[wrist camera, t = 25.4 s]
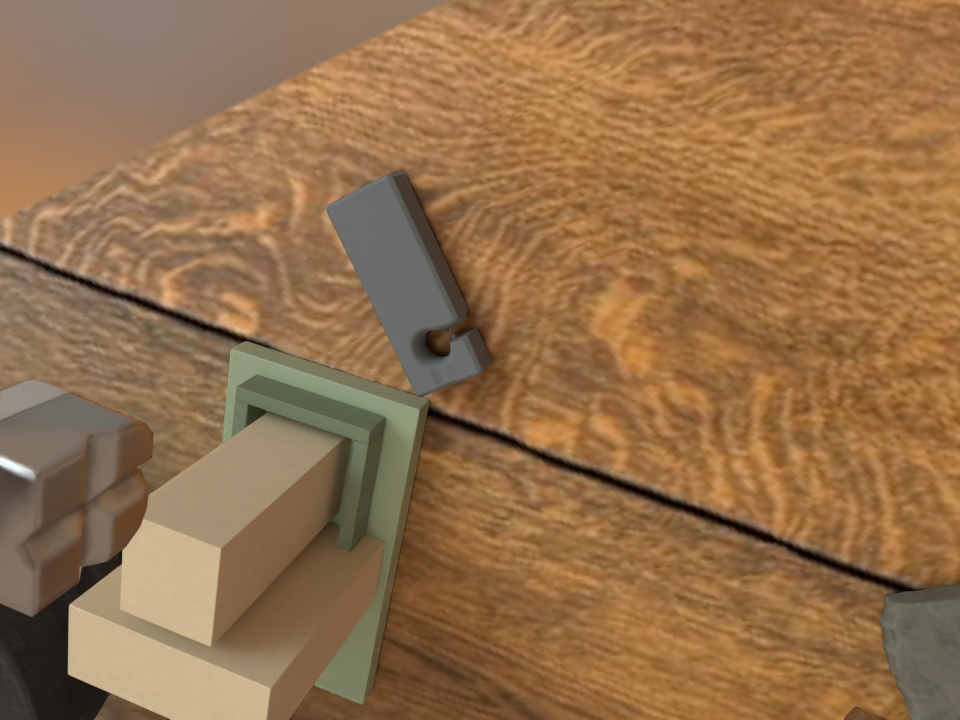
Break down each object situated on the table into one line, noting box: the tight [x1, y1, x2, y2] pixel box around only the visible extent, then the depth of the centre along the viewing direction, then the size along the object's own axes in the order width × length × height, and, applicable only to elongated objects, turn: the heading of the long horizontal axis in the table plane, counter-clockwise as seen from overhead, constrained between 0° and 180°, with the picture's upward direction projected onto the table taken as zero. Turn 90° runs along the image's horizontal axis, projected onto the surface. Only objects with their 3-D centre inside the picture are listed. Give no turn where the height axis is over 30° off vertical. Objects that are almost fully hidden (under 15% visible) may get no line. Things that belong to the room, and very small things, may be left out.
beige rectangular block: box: [120, 411, 351, 647], centre depth 39 cm, size 4×5×12 cm
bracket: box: [326, 171, 492, 397], centre depth 40 cm, size 4×10×2 cm, turn 26°
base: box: [68, 341, 430, 720], centre depth 41 cm, size 11×20×14 cm, turn 168°
